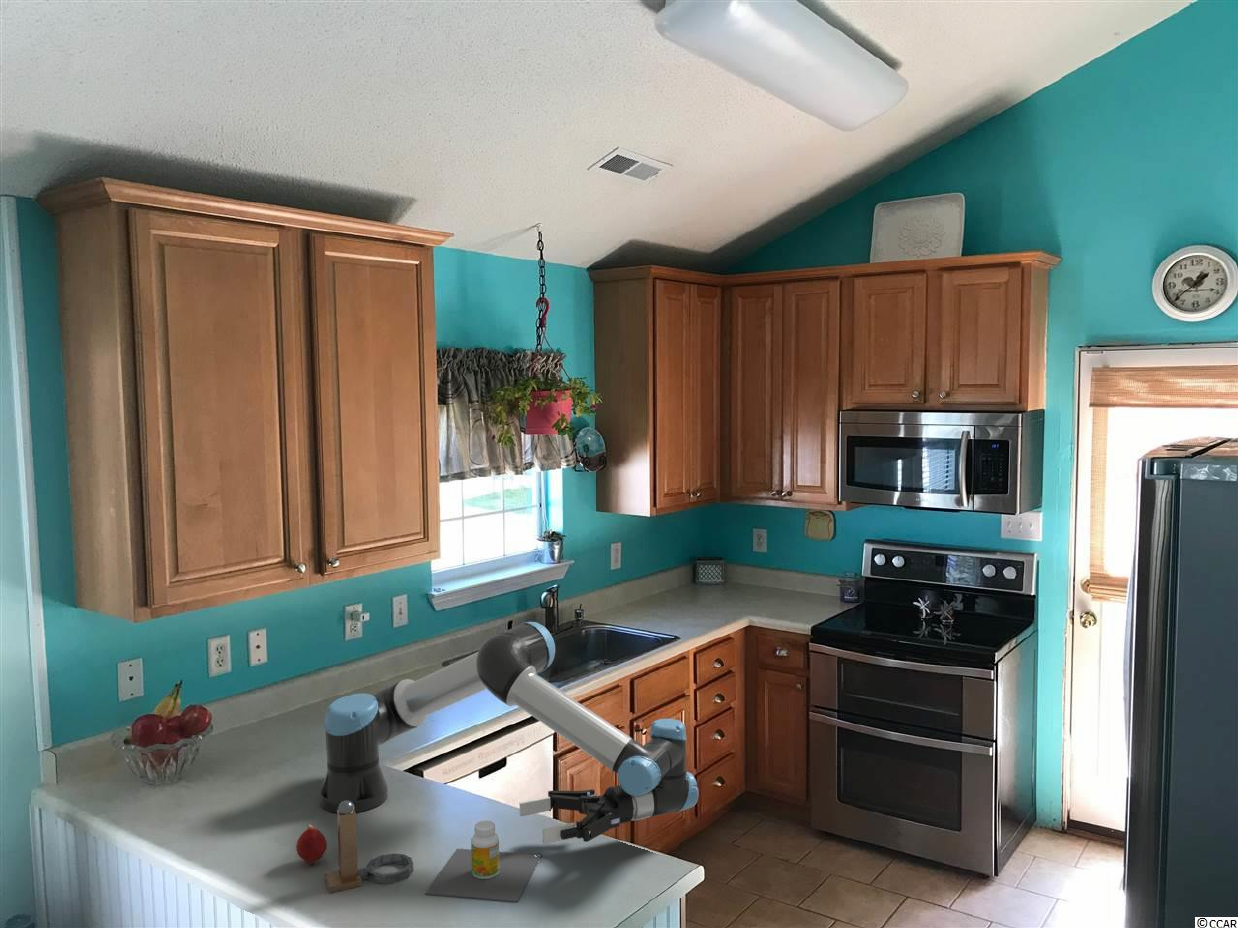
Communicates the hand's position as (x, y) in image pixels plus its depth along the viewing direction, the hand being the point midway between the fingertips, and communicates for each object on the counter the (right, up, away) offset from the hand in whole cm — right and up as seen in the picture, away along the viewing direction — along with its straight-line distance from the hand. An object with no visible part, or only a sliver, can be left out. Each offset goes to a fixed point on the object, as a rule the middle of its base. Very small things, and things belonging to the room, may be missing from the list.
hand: (531, 822), depth 194 cm
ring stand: (-32, -9, -4) cm, 33 cm away
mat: (-9, -9, -3) cm, 13 cm away
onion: (-44, -9, +2) cm, 45 cm away
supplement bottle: (-9, -9, -3) cm, 13 cm away
